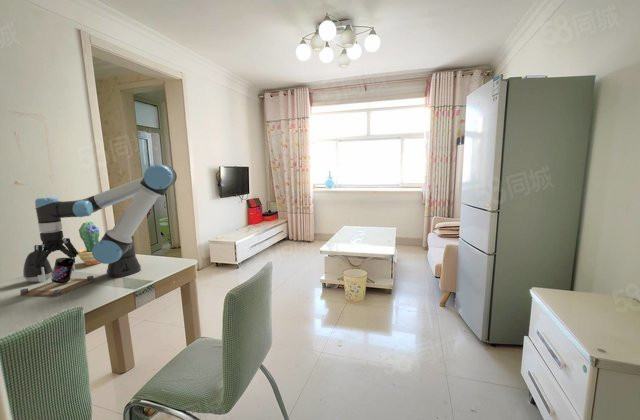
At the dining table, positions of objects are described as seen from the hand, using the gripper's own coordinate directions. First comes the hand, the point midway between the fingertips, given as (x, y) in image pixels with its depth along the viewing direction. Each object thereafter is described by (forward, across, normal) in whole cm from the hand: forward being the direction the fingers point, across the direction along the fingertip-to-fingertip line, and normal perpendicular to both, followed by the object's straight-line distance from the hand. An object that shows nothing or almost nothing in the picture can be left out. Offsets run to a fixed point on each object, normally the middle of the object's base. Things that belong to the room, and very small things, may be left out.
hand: (58, 275), depth 129 cm
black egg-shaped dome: (+6, -8, -20) cm, 22 cm away
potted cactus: (+6, -36, -17) cm, 40 cm away
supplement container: (+4, -4, 0) cm, 6 cm away
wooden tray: (+6, 0, 0) cm, 6 cm away
